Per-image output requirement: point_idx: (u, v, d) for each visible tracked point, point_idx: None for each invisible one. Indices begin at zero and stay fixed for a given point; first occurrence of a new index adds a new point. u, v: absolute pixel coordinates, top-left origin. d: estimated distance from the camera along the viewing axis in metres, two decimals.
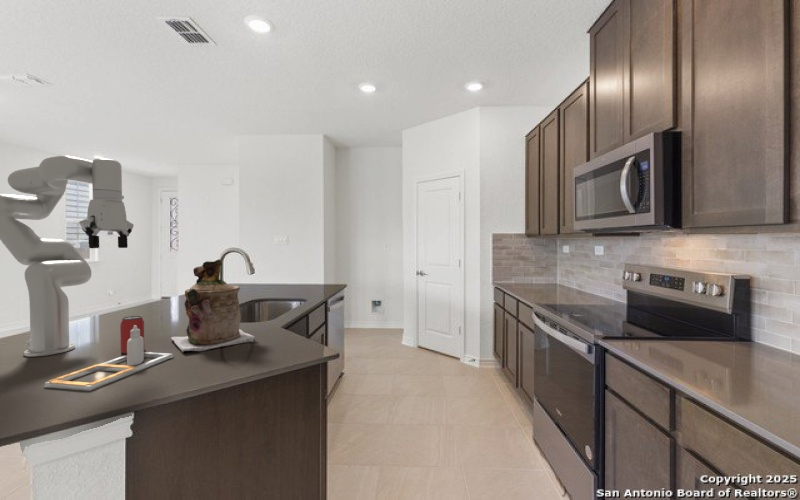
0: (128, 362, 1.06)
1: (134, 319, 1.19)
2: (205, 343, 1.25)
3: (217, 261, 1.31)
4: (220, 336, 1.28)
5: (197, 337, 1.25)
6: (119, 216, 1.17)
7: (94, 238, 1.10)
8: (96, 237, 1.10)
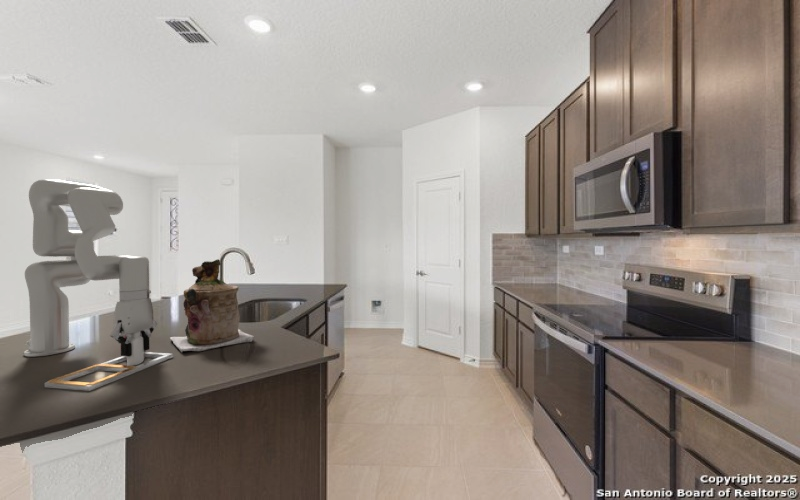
0: (128, 362, 1.06)
1: None
2: (204, 343, 1.25)
3: (216, 261, 1.31)
4: (219, 336, 1.28)
5: (196, 337, 1.25)
6: (146, 315, 1.10)
7: (126, 346, 1.05)
8: (129, 345, 1.05)
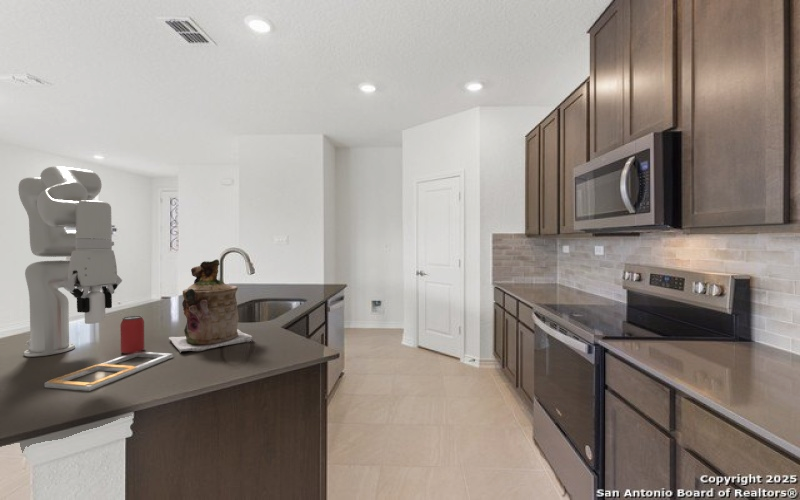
0: (86, 319, 0.94)
1: (134, 319, 1.19)
2: (203, 343, 1.25)
3: (215, 261, 1.31)
4: (218, 336, 1.28)
5: (195, 337, 1.25)
6: (108, 268, 0.98)
7: (83, 301, 0.93)
8: (86, 300, 0.93)
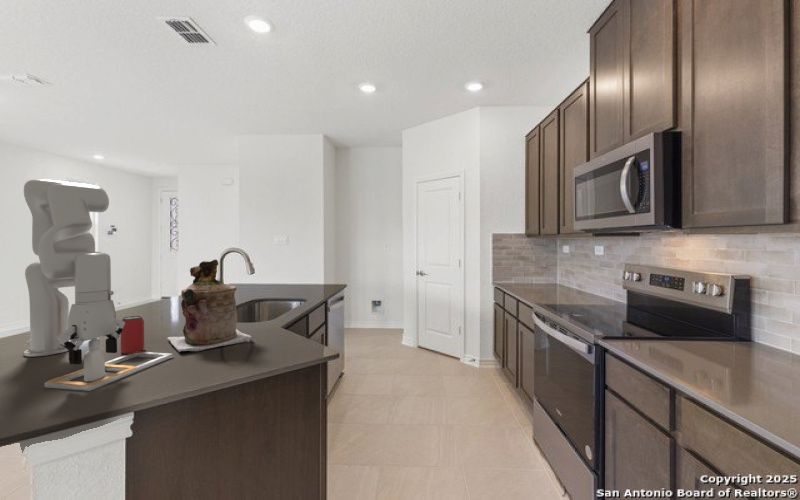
0: (85, 377, 0.94)
1: (134, 319, 1.19)
2: (202, 343, 1.25)
3: (214, 261, 1.31)
4: (217, 336, 1.28)
5: (194, 337, 1.25)
6: (107, 319, 0.97)
7: (75, 353, 0.91)
8: (78, 352, 0.91)
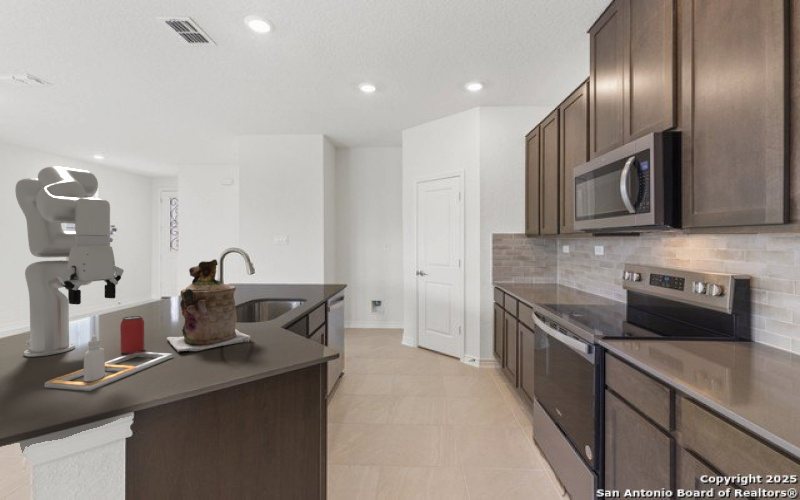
0: (85, 377, 0.94)
1: (134, 319, 1.19)
2: (201, 343, 1.25)
3: (213, 261, 1.31)
4: (216, 336, 1.28)
5: (193, 337, 1.25)
6: (106, 264, 1.00)
7: (75, 293, 0.94)
8: (77, 292, 0.94)
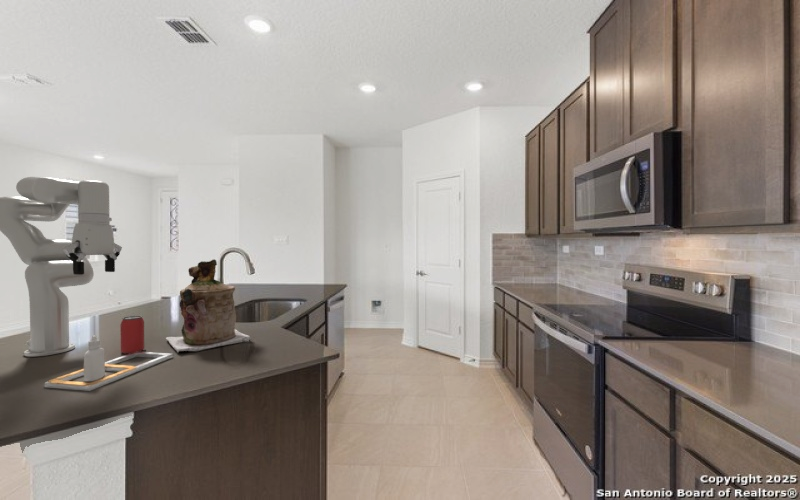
0: (85, 377, 0.94)
1: (134, 319, 1.19)
2: (200, 343, 1.25)
3: (212, 261, 1.31)
4: (216, 336, 1.28)
5: (192, 337, 1.25)
6: (106, 240, 1.12)
7: (79, 264, 1.05)
8: (81, 263, 1.05)
